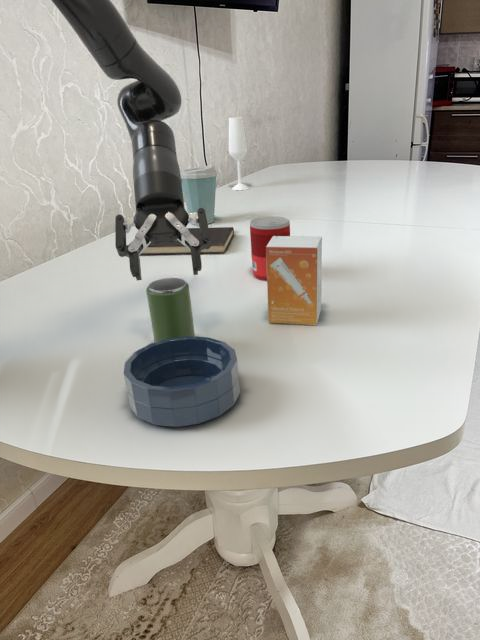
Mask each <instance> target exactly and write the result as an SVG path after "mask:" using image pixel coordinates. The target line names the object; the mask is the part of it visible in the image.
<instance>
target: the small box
mask: <svg viewBox="0 0 480 640" xmlns="http://www.w3.org/2000/svg"><path fill="white" fill-rule="evenodd" d="M322 255H323V236H322V235H319V236H315V235H314V236H309V235H308V236H304V235H290V236H273V237H272V238H271V240H270V241H269V243H268V245H267V246H266V261H267V281H266V286H267V311H268V323H269V324H286V325H287V324H289V325H291V324H292V325H306V326H318V323H319V319H320V315H321V311H322V269H323V268H322V266H323V265H322V263H323V262H322V261H323V260H322V259H323V257H322Z"/></svg>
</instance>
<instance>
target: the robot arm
mask: <svg viewBox="0 0 480 640" xmlns="http://www.w3.org/2000/svg"><path fill="white" fill-rule="evenodd" d="M50 1H51V2H52V4H54V6H55V7H56V9H57V10H58V11H59V12H60V14H61V15H62V16H63V18H64V19H65V20H66V21H67V23H68V24H69V26H70V27H71V28H72V30H73V32H74V33H75V34H76V35H77V36H78V38H79V39H80V41H81V42H82V44H83V45H84V47H85V48H86V49H87V51H88V53H90V55H91V57H92V58H93V59H94V61H95V62H96V64H97V65H98V67H99V68H100V70H102V72H103V73H104V75H105V76H106V77H108V78H109V79H110V80H114V81H121V80H127V79H128V80H129V79H130V80H133V79H134V80H135V81H133V82H131V83H128V84H126V85H124V86H123V87H122V88H121V89H120V91H119V93H118V95H117V99H116V103H117V108H118V111H119V113H120V115H121V118H122V120H123V122H124V124H125V127H126V129H127V132H128V136H129V138H130V141H131V149H132V179H133V180H132V181H133V191H134V203H135V214H134V216H133V217H124V215H122V214H116V215H115V220H114V221H115V224H114V225H115V232H114V233H115V235H114V236H115V246H114V247H115V249H116V252H117V255H118V256H119V257H120V258H124V257H126V258H128V260H129V261H128V262H129V272H130V274H131V276H132V277H133V278H135V280H136V281H143V279H142V268H141V258H140V256H141V255H140V254H141V253H142V251H143V250H145V249H146V248H147V247H148V245H149V244H150V242H154V244H158V243H162V242H174V241H175V240H177V239H178V240H179V241H180V242H181V243H182V244H183V245H184V246H186V247H188V248H189V249H190V250H191V254H190V256H191V257H190V258H191V267H192V275H193V276H198V275H199V272H202V270H203V269H202V268H203V266H202V256H201V255H202V254H200V252H201V251H202V250H203V249H209V248H210V247H211V243H210V240H211V237H210V233H209V228H210V227H209V224H208V223H207V218H206V213H205V210H204V209H203V208H199V209H198V210H197V212H192V213H188V211H187V209H186V208H185V198H184V194H183V190H182V179H181V174H180V171H181V169H180V164H179V161H178V154H177V147H176V139H175V138H176V137H175V134H174V131H173V129H172V127H171V126H170V125H169V124H167V123H166V122H164V120H167V119H170V118H172V117H174V116H175V115H177V114H178V113H179V112H180V111H181V107H182V94H181V91H180V89H179V87H178V84H177V82H175V80H174V78H173V77H172V76H171V75H170V74H169V73H168V72H167V71H166V70H165V69H164V68H163V67H162V66H161V65H159V63H157V62H156V61H155V60H154V59H153V58H152V57H151V56H150V54H149V53H148V52H146V50H144V48H143V47H142V46H141V45H140V43H139V42H138V40H137V38H136V37H135V35H134V34H133V31H131V29H130V27H129V26H128V24H127V22H126V21H125V19H124V18H123V16H122V15H121V13H120V11H119V9H117V7H116V6H115V5H114V3H113V2H112V1H111V0H50ZM191 221H192V222H193V223H194V224H193V226H194V227H196V228H200V233H201V238H200V239H198V240H197V239H196V238H195V237H194V236H193V235H192V234H191V233H190V231H189V230H188V229H187V228H188V227H187V226H188V225H189V223H190V222H191ZM132 227H135V228H136V229H137V230H138V231H137V232H136V233H135V236H134V239H133V240H132V241H131V242H132V243H131V242H130V243H131V244H130V243H129V244H130V245H129V244H127V234H129V233H130V232H131V229H132Z"/></svg>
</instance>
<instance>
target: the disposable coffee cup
mask: <svg viewBox="0 0 480 640" xmlns="http://www.w3.org/2000/svg"><path fill="white" fill-rule="evenodd" d="M180 174H181V179H182V191H183V199H184V203H185V206H186V211H187V213H192V212H197V210H198V209H199V208H203V209H204V210H205V213H206V218H207V223H208V225H209V224H212V223H213V222H214V219H215V211H216V210H215V208H216V190H217V175H218V172H217V170H216V169H215V166H214V165H203V166H202V165H201V166H195V167H190V168H185V169H182V170H180ZM190 224H191V225H194V223H193V222H192V221H190Z"/></svg>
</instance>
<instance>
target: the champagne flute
mask: <svg viewBox="0 0 480 640" xmlns="http://www.w3.org/2000/svg"><path fill="white" fill-rule="evenodd" d="M244 124H245V123H244V118H243V116H229V117H228V153H229V155H230V156H231V158H232V159H234V160H235V161H236V167H237V181H238V182H237V184H236V185H234V186H233V187H232V188H231V190H232V191H245V190H249V189H250V187H249V186H247V185H246V184H244V183H243V182H242V167H241V161H242V160H243V159H244V157H246V155H247V153H248V146H247V139H246V132H245V125H244Z"/></svg>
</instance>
